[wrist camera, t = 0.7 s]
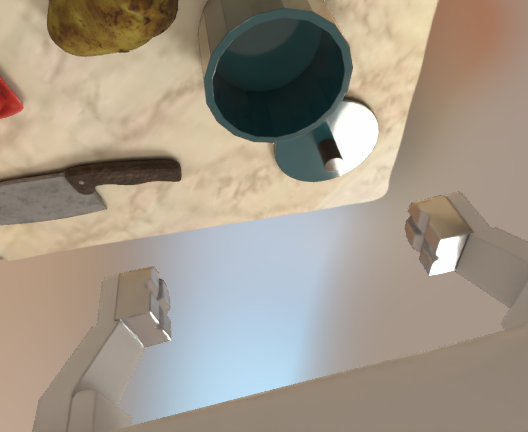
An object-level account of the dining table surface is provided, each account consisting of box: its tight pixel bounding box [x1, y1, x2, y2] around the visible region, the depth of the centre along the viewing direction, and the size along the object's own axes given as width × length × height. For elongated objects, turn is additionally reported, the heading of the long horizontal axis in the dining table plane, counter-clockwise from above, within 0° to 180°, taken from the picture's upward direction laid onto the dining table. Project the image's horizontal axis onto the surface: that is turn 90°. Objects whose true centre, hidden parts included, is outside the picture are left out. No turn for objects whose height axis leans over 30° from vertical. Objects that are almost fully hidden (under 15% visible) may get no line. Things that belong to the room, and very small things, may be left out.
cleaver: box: [0, 160, 181, 225], centre depth 55 cm, size 30×10×2 cm, turn 96°
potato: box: [47, 0, 178, 57], centre depth 34 cm, size 8×13×8 cm, turn 98°
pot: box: [198, 0, 353, 143], centre depth 40 cm, size 14×15×9 cm
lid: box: [274, 99, 379, 182], centre depth 55 cm, size 15×15×5 cm
